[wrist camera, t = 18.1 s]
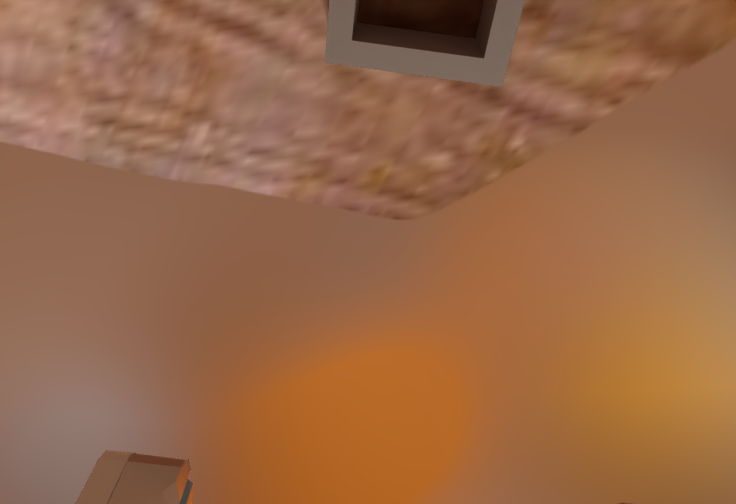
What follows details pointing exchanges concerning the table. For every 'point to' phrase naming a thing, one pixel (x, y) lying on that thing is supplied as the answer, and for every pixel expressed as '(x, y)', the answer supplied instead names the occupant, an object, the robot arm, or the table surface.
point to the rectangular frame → (426, 44)
